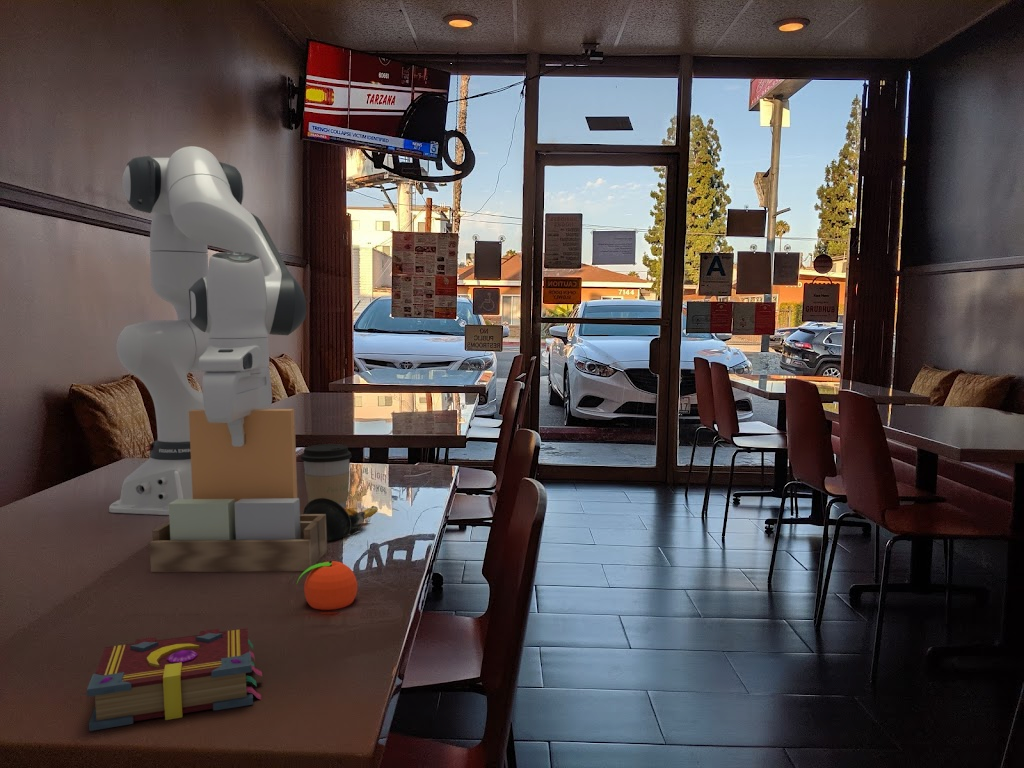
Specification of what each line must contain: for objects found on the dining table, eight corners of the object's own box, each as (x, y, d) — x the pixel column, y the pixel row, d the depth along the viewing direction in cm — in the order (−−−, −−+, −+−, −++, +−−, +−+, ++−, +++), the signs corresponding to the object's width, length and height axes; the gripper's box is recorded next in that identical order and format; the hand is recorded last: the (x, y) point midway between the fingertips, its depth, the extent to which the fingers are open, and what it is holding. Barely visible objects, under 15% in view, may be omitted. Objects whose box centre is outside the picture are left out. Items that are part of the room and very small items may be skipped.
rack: (151, 581, 122) (148, 532, 121) (181, 560, 132) (179, 515, 132) (310, 580, 121) (308, 531, 121) (327, 559, 132) (325, 514, 131)
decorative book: (106, 684, 88) (103, 640, 88) (260, 662, 94) (259, 620, 93) (89, 735, 78) (86, 684, 77) (264, 706, 83) (263, 658, 82)
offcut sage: (171, 568, 123) (168, 503, 122) (180, 562, 126) (177, 499, 125) (230, 568, 123) (227, 503, 122) (237, 562, 126) (234, 498, 125)
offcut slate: (237, 568, 123) (234, 503, 122) (244, 562, 126) (241, 498, 125) (296, 567, 123) (293, 502, 122) (301, 561, 126) (299, 498, 125)
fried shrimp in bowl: (278, 525, 136) (324, 472, 152) (313, 576, 139) (354, 519, 155) (321, 509, 132) (362, 456, 148) (355, 562, 135) (393, 504, 151)
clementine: (301, 627, 103) (299, 573, 102) (293, 609, 109) (291, 558, 109) (363, 617, 106) (362, 564, 105) (352, 600, 112) (350, 550, 112)
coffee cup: (341, 533, 147) (339, 452, 146) (293, 531, 149) (290, 451, 148) (361, 520, 156) (359, 443, 155) (316, 518, 158) (313, 442, 157)
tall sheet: (195, 549, 128) (188, 411, 126) (200, 545, 130) (194, 409, 128) (295, 548, 128) (290, 410, 126) (298, 545, 130) (294, 409, 128)
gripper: (242, 353, 137) (246, 434, 138) (193, 360, 116) (197, 455, 118) (280, 352, 137) (282, 433, 138) (236, 360, 116) (240, 455, 118)
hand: (243, 444), depth 128 cm, fingers closed on tall sheet, 2 cm apart
